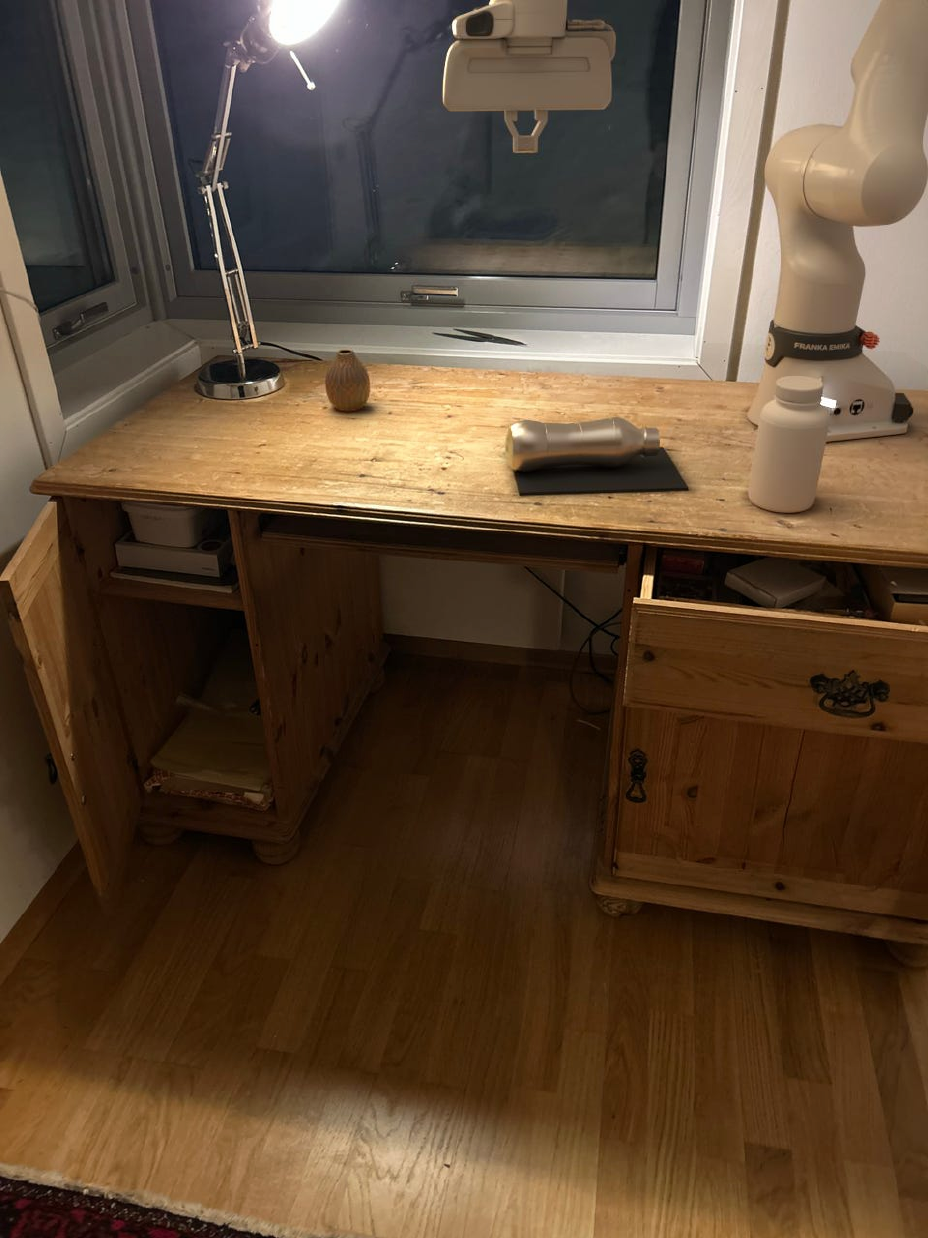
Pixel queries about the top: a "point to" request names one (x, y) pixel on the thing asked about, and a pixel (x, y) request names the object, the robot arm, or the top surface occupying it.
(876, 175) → the robot arm
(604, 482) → the mat
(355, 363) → the vase
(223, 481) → the top surface
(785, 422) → the pill bottle
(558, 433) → the plastic bottle
